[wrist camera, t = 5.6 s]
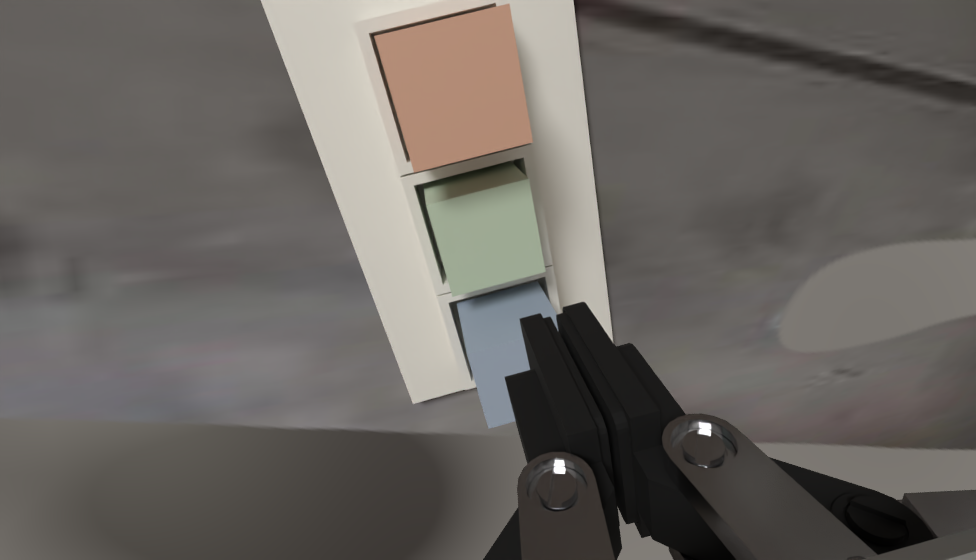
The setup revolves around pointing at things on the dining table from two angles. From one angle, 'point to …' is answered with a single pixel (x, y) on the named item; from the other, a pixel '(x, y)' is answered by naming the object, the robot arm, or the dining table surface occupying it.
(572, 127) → the board
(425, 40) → the terracotta button
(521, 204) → the sage button
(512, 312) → the slate button
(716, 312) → the dining table surface
